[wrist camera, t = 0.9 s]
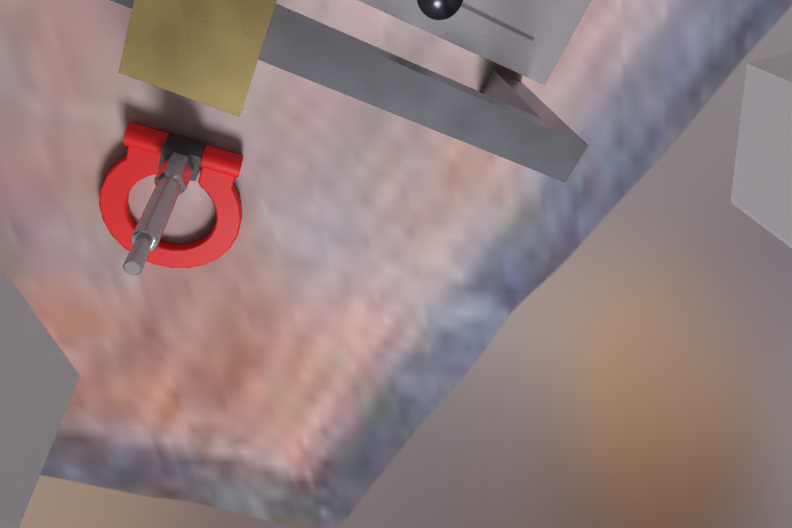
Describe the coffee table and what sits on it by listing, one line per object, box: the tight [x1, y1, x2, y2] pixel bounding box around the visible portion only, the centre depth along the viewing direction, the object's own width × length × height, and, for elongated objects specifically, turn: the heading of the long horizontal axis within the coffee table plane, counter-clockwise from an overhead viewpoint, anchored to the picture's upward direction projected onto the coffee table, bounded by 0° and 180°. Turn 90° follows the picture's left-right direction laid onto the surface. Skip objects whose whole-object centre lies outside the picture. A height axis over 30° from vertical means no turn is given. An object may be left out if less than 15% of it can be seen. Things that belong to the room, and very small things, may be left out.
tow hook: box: [99, 122, 243, 275], centre depth 33 cm, size 8×13×9 cm
